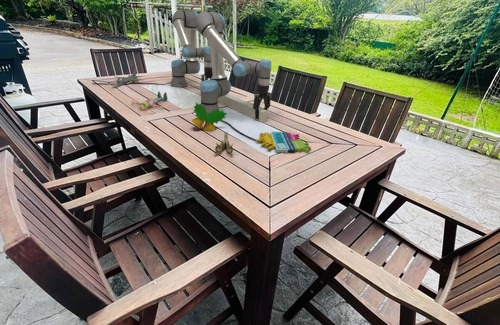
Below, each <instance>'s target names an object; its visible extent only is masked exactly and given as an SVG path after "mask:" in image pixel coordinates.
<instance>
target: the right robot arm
mask: <svg viewBox="0 0 500 325" xmlns="http://www.w3.org/2000/svg"><path fill="white" fill-rule="evenodd" d="M195 23H196V27H197V31H198V32H199V34H200V35H201V37H203V38H204V39H207V40H208V47H209V48H210V56H211V64H212V73H213V76H212V77H211V80H210V79H208V80H205V79H204V80H205V81H203V82H201V81H200V87H199V89H200V104H201V106H204V109H206V112H208V113H211V112H212V110H214V111H216V110H217V109H219V111H221V110H220V108H219V102H218V98H219V97H221V96H225V95H226V94H229V93H230V92H231V90H232V83H231V82H230V81H229V79H228V76H227V74H225V73H226V72H225V64H224V62H225V61H226V62H227V64H229V66H230V67H231V68H232V73H233V75H234V76H235V77H238V78H239V77H241V78H242V77H245V76H248V75H252V74H253V75H258V80H257V93H256V94H254V95H253V103H252V104H253V109H255V118H256V119H259V110H258V109H259V107H260V106H261V104H262V101H263V105H264V107H263V109H265V110H267V111H268V112H269V109H270V107H271V96H272V92H269V91H270V83H271V74H272V73H271V72H272V61H271V59H266V58H265V59H264V58H263V59H260V60H259V61H254V60H242V59H241V57H240V56H239V55H238V54H237V52H235V50H234V49H233V48H232V46H230V44H228V42H227V41H226V40H225V39H224V38H223V35H224V29H225V27H226V21H225V18H224V16H223V15H222V14H221V13H219V12H215V11H200V12H198V15H197V17H196V21H195ZM224 60H225V61H224ZM208 113H207V115H208ZM222 123H225V124H227V125H228V126H229V127H230V128H231V129H233V130H234V131H235V132H237V133H238V134H240V135H242V136H243V137H246V138H248V139H250V140H252V141H254V142H256V141H257V139H256V138H254V137H252V136H249V135H246V134H245V133H243V132H241V131H239V130H238V129H237V128H235V127H234V126H233V125H231V123H229V122H227V121H225V120H223V119H222ZM262 143H263V142H260V143H259V144H262ZM270 146H272V145H270Z"/></svg>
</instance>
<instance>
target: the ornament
mask: <svg viewBox="0 0 500 325" xmlns="http://www.w3.org/2000/svg"><path fill="white" fill-rule="evenodd" d="M219 110H220V108H219V109H217V110H216V111H214V110H212V112H211V113H208V112H206V109H204V106H201V103H198V102H195V105H194V106H193V112H194V113H195V118H192V119H191V122H192V123H193V125H195V127H197V128H198V129H202V130H203V131H206V132H212V131H213V132H214V131H215V130H216V126H215V124H218V123H219V122H222V120H223V119H226V115H227V114H228V113H227V112H224V110H223V109H221V110H220V111H219ZM207 113H208V115H207ZM214 123H215V124H214ZM222 123H223V122H222Z"/></svg>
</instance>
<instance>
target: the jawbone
mask: <svg viewBox="0 0 500 325" xmlns="http://www.w3.org/2000/svg"><path fill="white" fill-rule="evenodd" d="M223 135H224V136H223V140H222V139H221V142H220V144H218V142H215V144H216V146H215V148H214V149H215V152H214V154H215V155H217V156H218V155H220V153H221V152H223V151H224V150H226V152H227V153H228V155H229V156H233V155H234V154H233V153H234V148H233V144H234V143H230V140H228V139H229V138H228V137H229V136H228V135H229V133H228V131H226V132H224V134H223Z"/></svg>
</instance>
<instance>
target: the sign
mask: <svg viewBox="0 0 500 325" xmlns="http://www.w3.org/2000/svg"><path fill="white" fill-rule="evenodd" d="M299 136H300V135H299V134H298V133H296V134H294V133H291V132H287V131H270V132H264V133H263V132H260V133H259V139H258V138H257V139H256V140H257V141H255V142H256V143H257V144H261V148H263V147H264V148H265V149H267V151H268V152H271V151H272V150H273V149H275V152H276V153H283V154H285V153H287V154H288V153H290V154H293V153H296V152H298V153H301V152H305V153H310V151H311V150H312V149H311V148H312V146H309V142H304V141H303V139H302V138H299ZM260 142H263V143H260ZM270 145H272V146H270Z"/></svg>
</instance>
